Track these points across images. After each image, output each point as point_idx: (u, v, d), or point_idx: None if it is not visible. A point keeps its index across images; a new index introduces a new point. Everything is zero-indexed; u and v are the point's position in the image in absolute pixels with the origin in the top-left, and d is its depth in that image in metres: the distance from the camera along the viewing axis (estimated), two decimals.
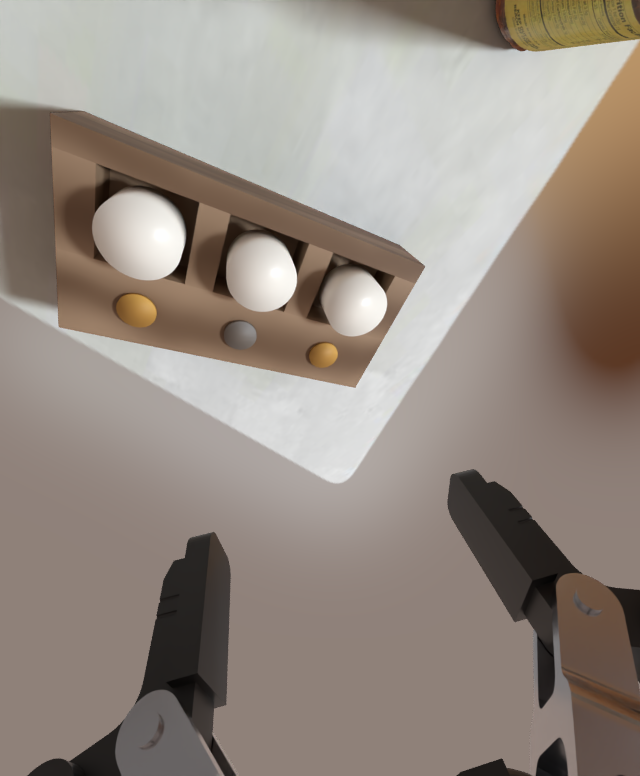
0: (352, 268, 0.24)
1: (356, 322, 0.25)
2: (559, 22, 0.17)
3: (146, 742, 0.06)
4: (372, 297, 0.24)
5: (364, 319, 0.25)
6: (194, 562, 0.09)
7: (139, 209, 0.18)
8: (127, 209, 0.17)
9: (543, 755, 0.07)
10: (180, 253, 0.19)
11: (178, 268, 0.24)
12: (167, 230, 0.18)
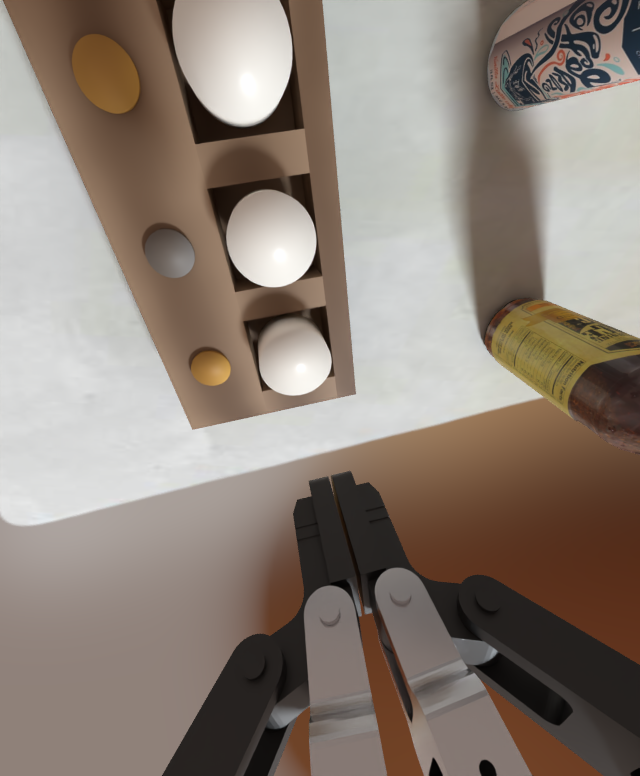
0: (320, 333, 0.22)
1: (281, 374, 0.21)
2: (529, 352, 0.25)
3: (332, 622, 0.08)
4: (316, 369, 0.21)
5: (289, 379, 0.21)
6: (321, 497, 0.11)
7: (276, 37, 0.13)
8: (268, 17, 0.13)
9: (430, 771, 0.07)
10: (249, 117, 0.14)
11: (196, 133, 0.17)
12: (269, 89, 0.14)
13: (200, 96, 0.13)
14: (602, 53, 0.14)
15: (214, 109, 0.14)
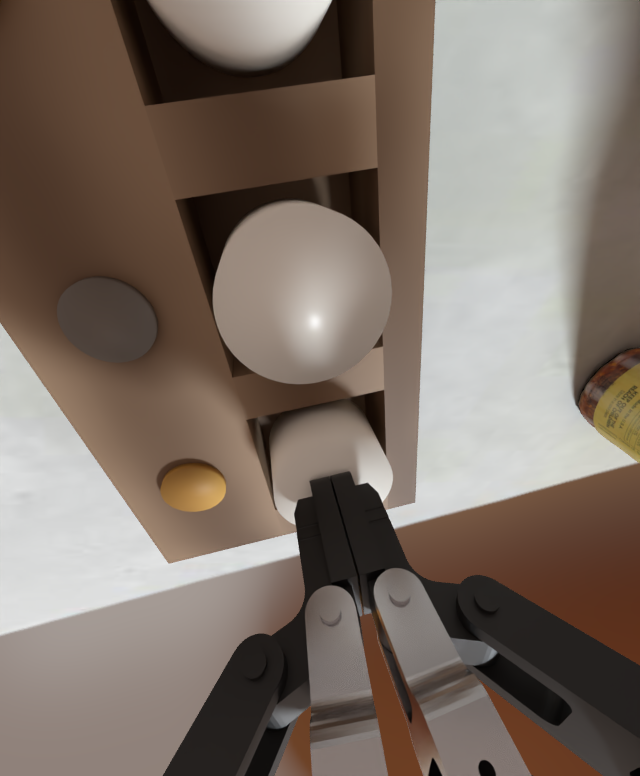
0: None
1: None
2: None
3: (333, 622, 0.08)
4: None
5: None
6: (322, 497, 0.11)
7: None
8: None
9: (430, 771, 0.07)
10: (264, 27, 0.06)
11: (156, 91, 0.09)
12: None
13: None
14: None
15: (175, 2, 0.05)
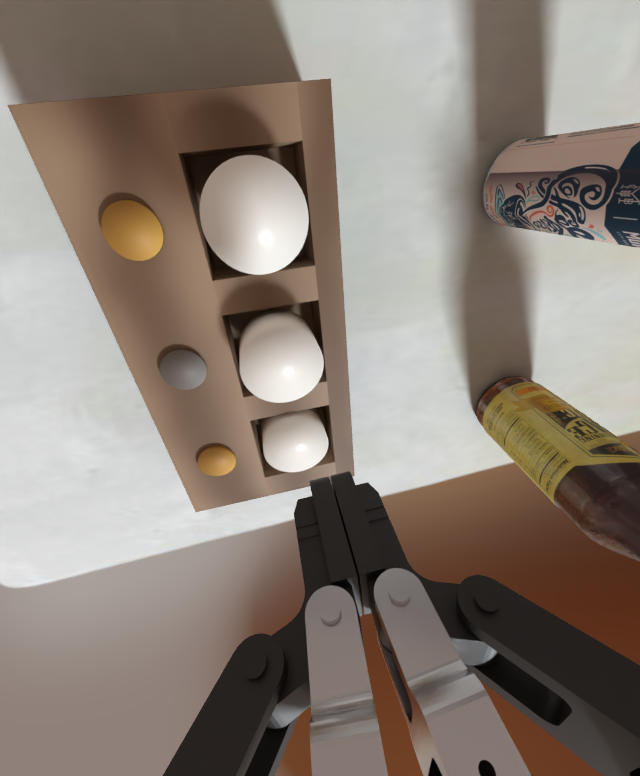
0: (319, 415, 0.24)
1: (283, 455, 0.23)
2: (518, 438, 0.26)
3: (333, 621, 0.08)
4: (314, 450, 0.23)
5: (290, 459, 0.23)
6: (322, 497, 0.11)
7: (295, 211, 0.14)
8: (288, 197, 0.14)
9: (430, 771, 0.07)
10: (266, 272, 0.15)
11: (212, 259, 0.18)
12: (286, 250, 0.15)
13: (222, 258, 0.14)
14: (587, 222, 0.16)
15: (234, 267, 0.15)
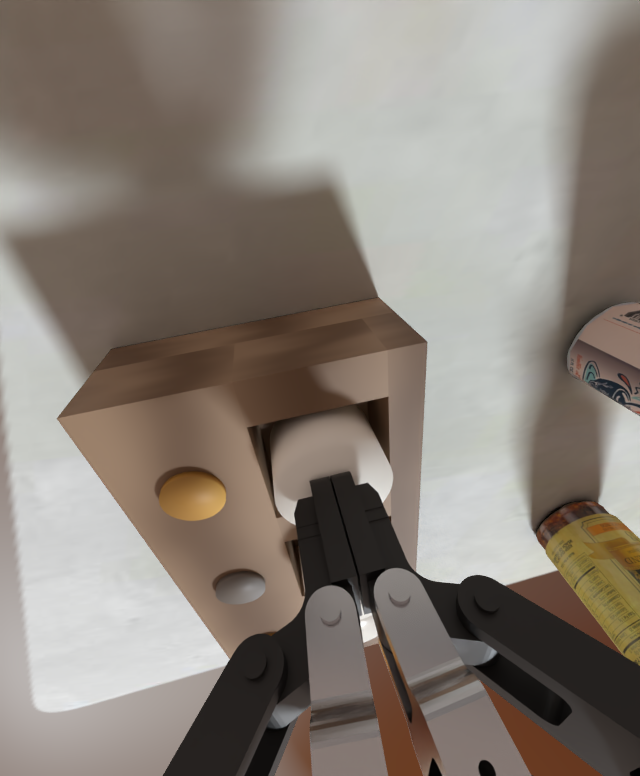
0: None
1: None
2: (595, 592, 0.24)
3: (333, 621, 0.08)
4: (374, 628, 0.21)
5: None
6: (322, 497, 0.11)
7: (378, 478, 0.12)
8: (372, 469, 0.12)
9: (430, 771, 0.07)
10: None
11: (270, 470, 0.16)
12: None
13: (295, 524, 0.13)
14: None
15: None
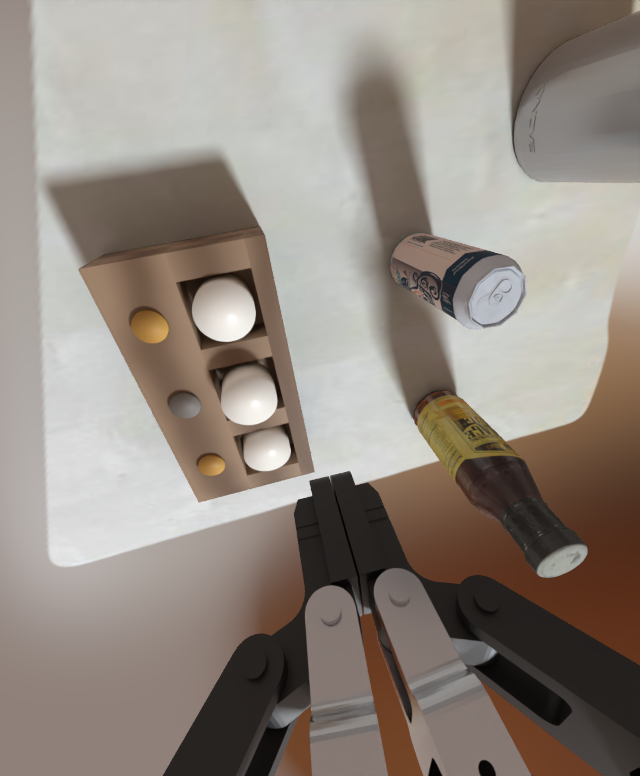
0: (284, 429, 0.33)
1: (258, 459, 0.32)
2: (436, 439, 0.35)
3: (333, 622, 0.08)
4: (281, 455, 0.32)
5: (263, 462, 0.32)
6: (322, 497, 0.11)
7: (246, 307, 0.24)
8: (242, 300, 0.24)
9: (430, 771, 0.07)
10: (233, 340, 0.25)
11: (200, 331, 0.27)
12: (244, 327, 0.25)
13: (206, 335, 0.25)
14: (436, 305, 0.25)
15: (214, 339, 0.25)
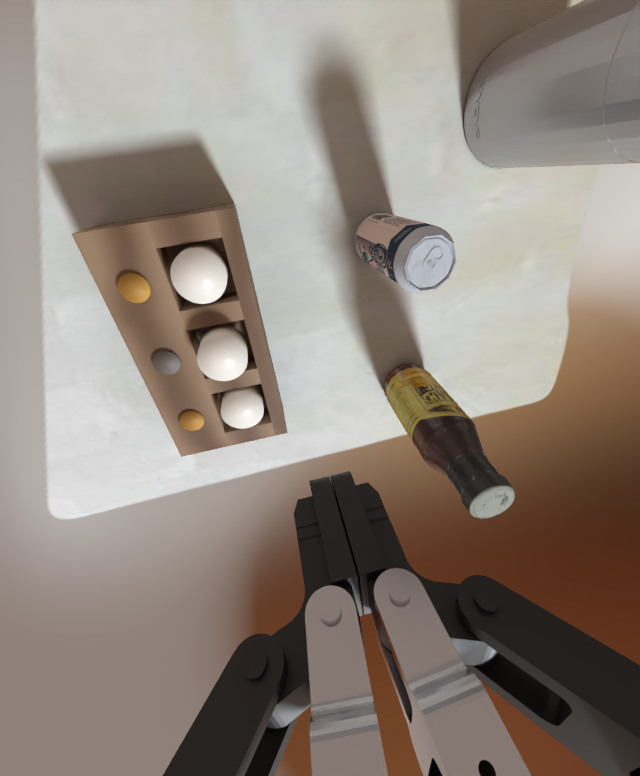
0: (259, 391, 0.37)
1: (234, 417, 0.35)
2: (399, 405, 0.38)
3: (333, 622, 0.08)
4: (254, 413, 0.36)
5: (239, 419, 0.36)
6: (322, 497, 0.11)
7: (218, 272, 0.28)
8: (214, 266, 0.27)
9: (429, 771, 0.07)
10: (207, 302, 0.29)
11: (181, 296, 0.31)
12: (217, 291, 0.28)
13: None
14: (386, 274, 0.28)
15: None
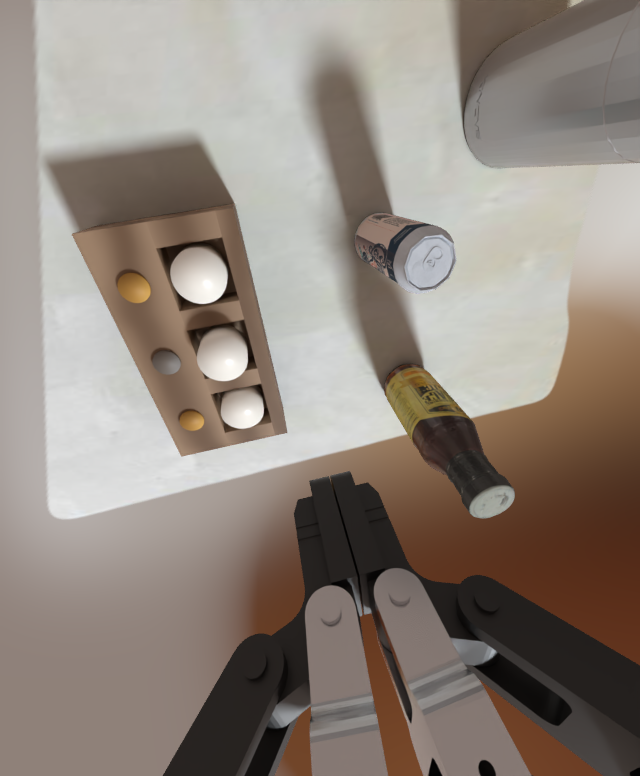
0: (259, 391, 0.37)
1: (234, 417, 0.35)
2: (399, 405, 0.38)
3: (333, 622, 0.08)
4: (254, 413, 0.36)
5: (239, 419, 0.36)
6: (322, 497, 0.11)
7: (218, 272, 0.28)
8: (214, 266, 0.27)
9: (430, 771, 0.07)
10: (207, 302, 0.29)
11: (181, 296, 0.31)
12: (217, 291, 0.28)
13: (183, 296, 0.28)
14: (386, 274, 0.28)
15: None
